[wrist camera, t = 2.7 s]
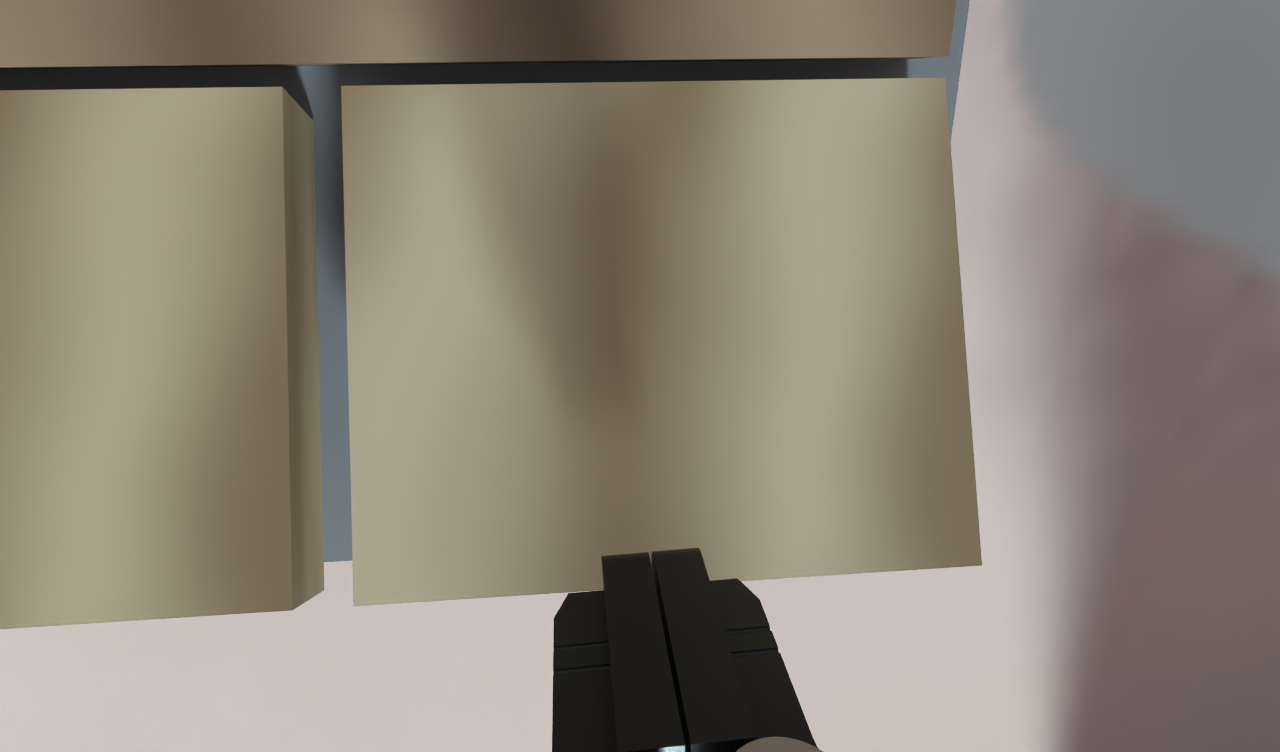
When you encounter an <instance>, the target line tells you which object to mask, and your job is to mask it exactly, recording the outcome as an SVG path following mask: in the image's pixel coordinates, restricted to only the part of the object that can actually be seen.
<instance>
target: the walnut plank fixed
mask: <svg viewBox="0 0 1280 752" xmlns="http://www.w3.org/2000/svg"><path fill="white" fill-rule="evenodd" d="M955 7H956V0H0V70H4V69H91V68H179V67H266V66H353V65H440V64H528V63H615V62H702V61H789V60H877V59H921V58H934V57H947V56H949V54H950V46H951V38H952V30H953V23H954V15H955Z"/></svg>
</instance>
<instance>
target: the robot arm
mask: <svg viewBox="0 0 1280 752" xmlns="http://www.w3.org/2000/svg"><path fill="white" fill-rule="evenodd" d="M601 561H602V578H603V590H601V591H590V592H579V593H568V595H567V597H566V599H565V600H564V602H563V604H562V605H561V607H560V609H559V611H558V612H557V614H556V616H555V618H554V656H553V672H554V675H553V733H552V752H822V751H821V750H819V749H818V747H817V746H816V743H815V741H814V739H813V737H812V735H811V732H810V729H809V727H808V724H807V722H806V719H805V716H804V714H803V711H802V709H801V706H800V704H799V701H798V698H797V696H796V693H795V691H794V688H793V685H792V683H791V680H790V678H789V675H788V672H787V670H786V667H785V665H784V662H783V659H782V657H781V654H780V653H779V652H778V646H777V644H776V641H775V639H774V636H773V633H772V631H770V626H769V623H768V620H767V618H766V615H765V613H764V610H763V607H762V605H761V602H760V600H759V599H758V598H757V597H756V596H755V595H754V594H753V593H752V592H751V591H750V590H749V589H748V588H747V587H746V586H745V585H744V584H743V583H742V582H741V581H740V580H738V579H737V578H735V579H723V580H712V581H710V580H709V577H708V573H707V570H706V567H705V563H704V560H703V557H702V553H701V550H700V549H699V548H687V549H676V550H664V551H652V553H651V561H650V556H649V553H648V552H643V553H631V554H619V555H607V556H601Z"/></svg>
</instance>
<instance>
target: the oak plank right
mask: <svg viewBox="0 0 1280 752" xmlns="http://www.w3.org/2000/svg"><path fill="white" fill-rule="evenodd" d="M341 102H342V144H343V185H344V226H345V268H346V309H347V350H348V392H349V433H350V474H351V515H352V557H353V598H354V606H364V605H380V604H395V603H410V602H426V601H441V600H456V599H472V598H487V597H503V596H518V595H533V594H549V593H564V592H579V591H595V590H603V578H602V561H601V556H607V555H619V554H631V553H643V552H648V553H649V556H650V561H651V553H652V551H664V550H676V549H687V548H699V549H700V550H701V553H702V557H703V560H704V563H705V567H706V570H707V573H708V577H709V580H710V581H712V580H723V579H735V578H737V579H738V580H740V581H748V580H764V579H779V578H794V577H810V576H825V575H841V574H856V573H871V572H887V571H902V570H917V569H933V568H948V567H963V566H979V565H982V561H981V547H980V534H979V520H978V507H977V494H976V480H975V467H974V454H973V440H972V427H971V413H970V400H969V387H968V373H967V360H966V347H965V333H964V320H963V307H962V293H961V280H960V266H959V253H958V240H957V226H956V213H955V200H954V186H953V173H952V159H951V146H950V133H949V119H948V106H947V93H946V79H945V78H887V79H813V80H739V81H664V82H590V83H516V84H441V85H367V86H341Z"/></svg>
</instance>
